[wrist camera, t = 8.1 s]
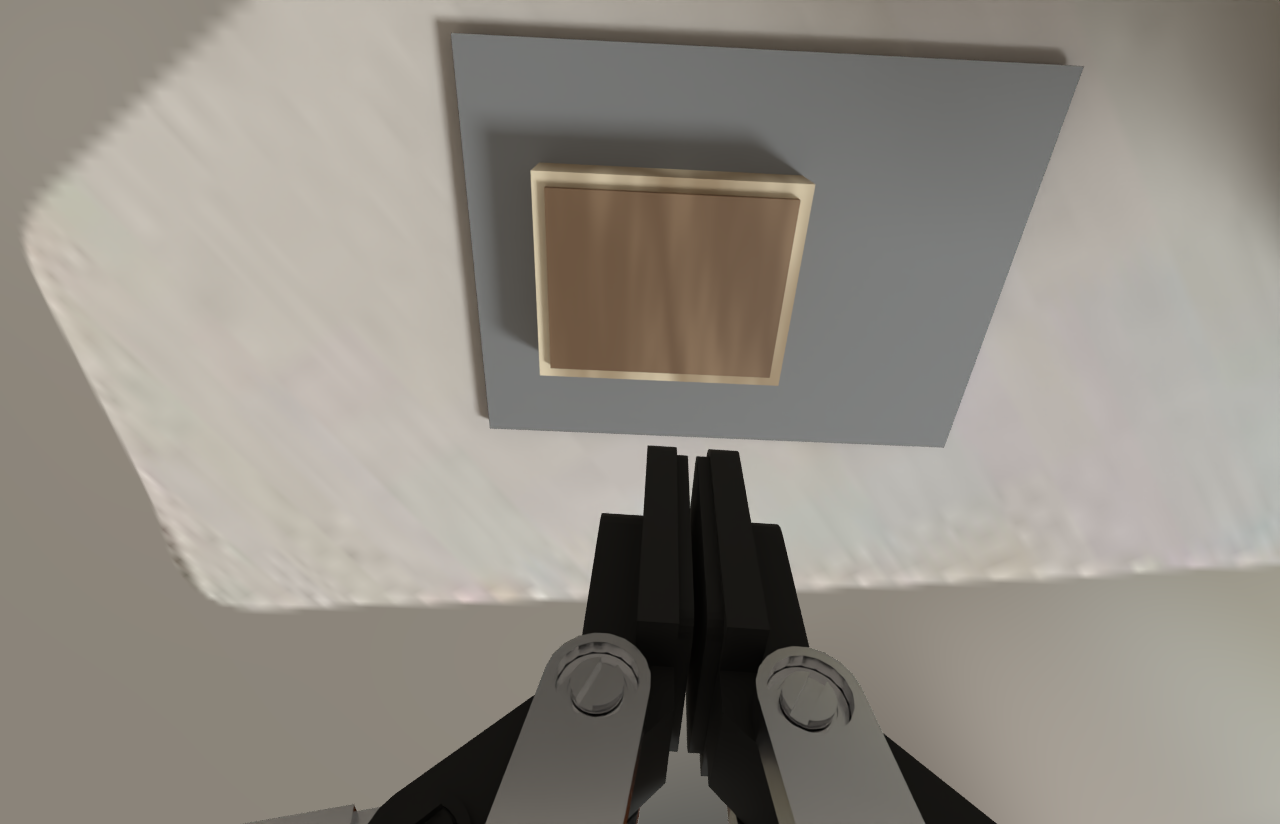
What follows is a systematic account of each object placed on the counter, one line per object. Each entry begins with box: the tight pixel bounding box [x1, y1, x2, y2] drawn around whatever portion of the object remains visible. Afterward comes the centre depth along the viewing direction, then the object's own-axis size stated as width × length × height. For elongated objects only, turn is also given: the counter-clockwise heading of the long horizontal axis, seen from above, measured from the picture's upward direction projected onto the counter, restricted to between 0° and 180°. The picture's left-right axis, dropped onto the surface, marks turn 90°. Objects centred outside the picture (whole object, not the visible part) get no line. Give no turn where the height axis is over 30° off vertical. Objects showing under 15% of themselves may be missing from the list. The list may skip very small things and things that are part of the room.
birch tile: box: [530, 162, 816, 386], centre depth 23 cm, size 2×8×10 cm
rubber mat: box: [451, 33, 1084, 448], centre depth 25 cm, size 22×16×1 cm
